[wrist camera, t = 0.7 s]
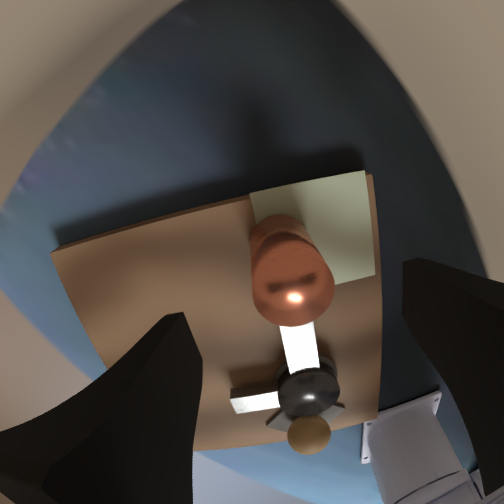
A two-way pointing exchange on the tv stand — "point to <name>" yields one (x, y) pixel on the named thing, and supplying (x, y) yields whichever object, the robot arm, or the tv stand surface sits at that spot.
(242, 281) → the light wood flat board
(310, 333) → the lever
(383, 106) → the tv stand surface
